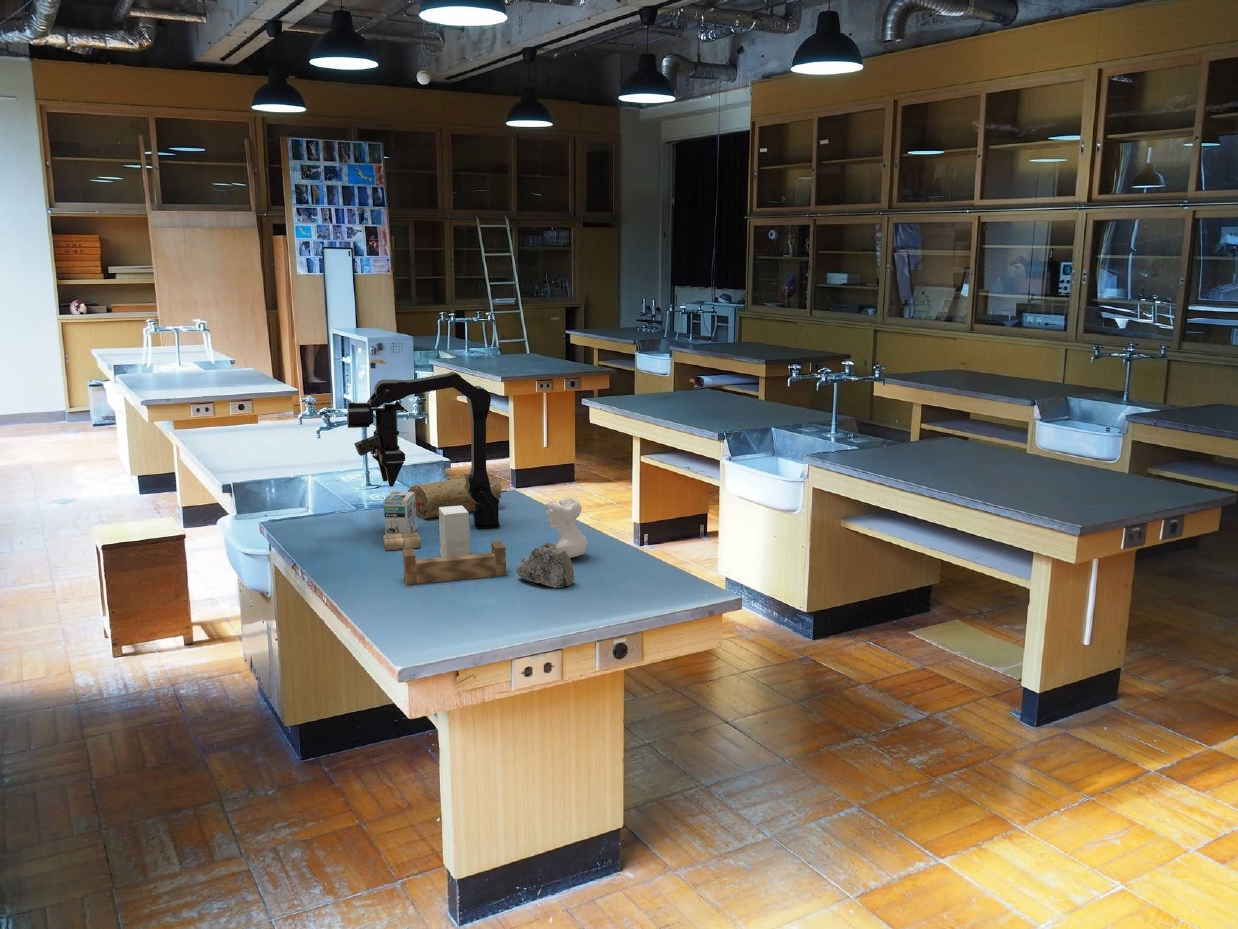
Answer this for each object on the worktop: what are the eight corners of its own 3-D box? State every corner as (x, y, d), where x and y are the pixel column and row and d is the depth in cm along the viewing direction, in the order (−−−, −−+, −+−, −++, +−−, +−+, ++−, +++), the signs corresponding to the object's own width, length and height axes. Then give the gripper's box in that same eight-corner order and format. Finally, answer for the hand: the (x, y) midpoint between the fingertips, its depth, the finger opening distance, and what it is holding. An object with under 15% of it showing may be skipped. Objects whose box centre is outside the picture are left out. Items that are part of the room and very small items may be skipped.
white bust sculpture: (569, 565, 257) (568, 507, 254) (536, 557, 264) (534, 500, 261) (594, 556, 265) (593, 499, 262) (560, 549, 272) (559, 493, 268)
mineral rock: (514, 578, 248) (513, 538, 246) (554, 571, 253) (553, 531, 251) (538, 594, 237) (537, 551, 235) (579, 586, 242) (578, 544, 240)
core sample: (405, 513, 310) (403, 480, 307) (484, 500, 324) (483, 469, 322) (425, 523, 298) (423, 489, 296) (506, 509, 313) (505, 477, 311)
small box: (471, 562, 261) (469, 512, 258) (446, 565, 259) (443, 514, 256) (464, 553, 268) (462, 504, 266) (440, 556, 266) (437, 507, 263)
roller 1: (417, 541, 280) (417, 531, 279) (418, 545, 277) (418, 534, 276) (383, 544, 277) (383, 533, 276) (384, 548, 274) (384, 537, 274)
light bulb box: (409, 538, 282) (407, 500, 280) (384, 538, 282) (382, 500, 280) (417, 528, 293) (415, 491, 290) (393, 528, 293) (391, 491, 291)
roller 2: (419, 547, 275) (418, 536, 275) (420, 548, 273) (419, 537, 272) (385, 550, 273) (384, 539, 273) (385, 551, 270) (385, 540, 270)
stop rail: (501, 568, 256) (500, 540, 254) (506, 575, 250) (505, 547, 249) (404, 577, 249) (402, 549, 248) (406, 584, 244) (405, 556, 242)
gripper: (350, 424, 285) (352, 480, 287) (361, 431, 268) (363, 491, 270) (391, 423, 289) (393, 478, 292) (405, 430, 272) (406, 488, 275)
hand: (388, 483), depth 282 cm, fingers open, 9 cm apart
